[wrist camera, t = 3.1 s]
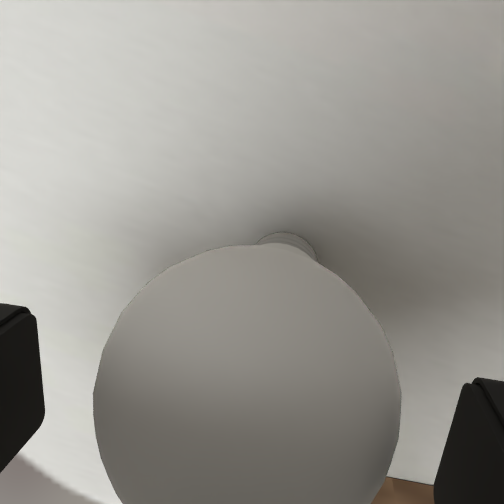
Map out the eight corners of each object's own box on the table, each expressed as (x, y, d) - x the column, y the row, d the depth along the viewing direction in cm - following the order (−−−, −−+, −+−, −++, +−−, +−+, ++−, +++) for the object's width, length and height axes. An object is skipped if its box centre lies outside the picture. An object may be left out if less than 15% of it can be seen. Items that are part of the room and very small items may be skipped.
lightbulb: (300, 356, 18) (259, 705, 8) (177, 268, 18) (-36, 514, 7) (405, 245, 16) (538, 531, 6) (267, 140, 15) (136, 243, 5)
